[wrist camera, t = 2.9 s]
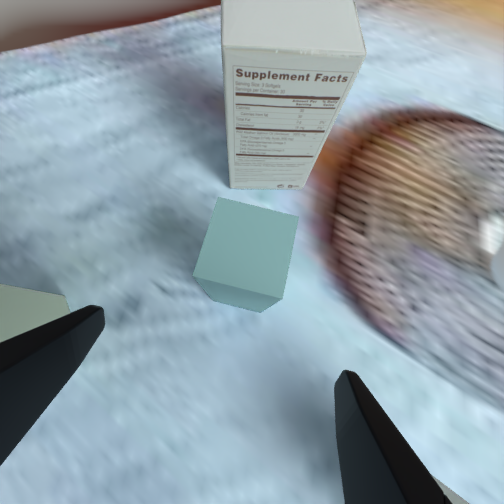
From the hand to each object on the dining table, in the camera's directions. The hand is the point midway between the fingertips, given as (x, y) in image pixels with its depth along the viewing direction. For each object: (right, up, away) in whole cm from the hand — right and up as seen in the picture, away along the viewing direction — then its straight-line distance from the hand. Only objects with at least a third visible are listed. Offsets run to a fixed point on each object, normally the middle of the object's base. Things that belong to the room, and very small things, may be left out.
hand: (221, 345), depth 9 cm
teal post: (0, +1, +12) cm, 12 cm away
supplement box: (+2, +13, +16) cm, 20 cm away
